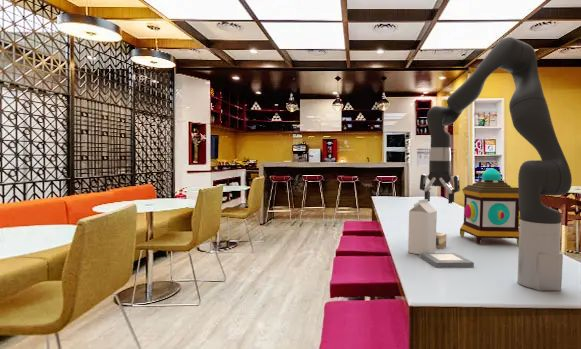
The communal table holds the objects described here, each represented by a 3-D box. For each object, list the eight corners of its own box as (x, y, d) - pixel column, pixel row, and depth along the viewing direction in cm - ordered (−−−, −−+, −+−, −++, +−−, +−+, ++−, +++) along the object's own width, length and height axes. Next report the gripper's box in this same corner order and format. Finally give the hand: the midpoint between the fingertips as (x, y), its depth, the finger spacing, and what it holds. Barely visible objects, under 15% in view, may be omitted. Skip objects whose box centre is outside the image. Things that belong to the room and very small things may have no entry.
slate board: (473, 267, 118) (474, 262, 118) (436, 267, 117) (436, 262, 117) (454, 257, 130) (454, 252, 130) (420, 257, 129) (420, 252, 129)
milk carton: (435, 253, 136) (437, 199, 135) (427, 256, 130) (428, 201, 130) (416, 249, 140) (418, 198, 140) (407, 252, 135) (409, 199, 134)
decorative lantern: (475, 245, 148) (478, 168, 147) (455, 235, 168) (457, 167, 167) (527, 246, 147) (530, 169, 146) (501, 236, 167) (503, 167, 166)
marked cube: (446, 246, 146) (446, 233, 146) (441, 249, 142) (441, 235, 142) (433, 244, 149) (433, 232, 149) (427, 247, 145) (428, 234, 145)
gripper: (462, 160, 142) (461, 203, 143) (425, 159, 152) (424, 200, 152) (456, 160, 137) (454, 205, 137) (417, 159, 146) (416, 201, 147)
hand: (438, 202), depth 145 cm, fingers open, 8 cm apart
